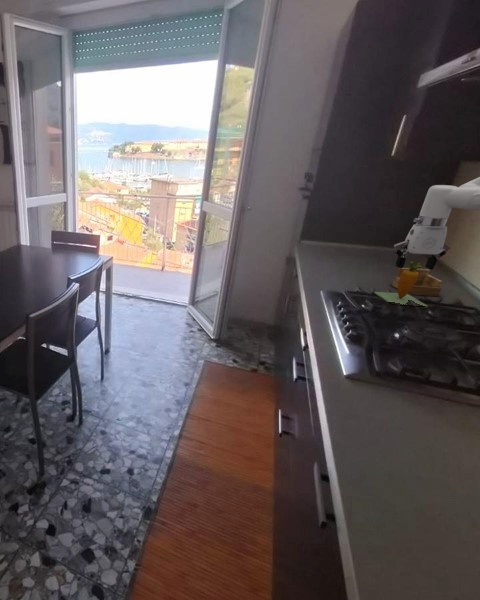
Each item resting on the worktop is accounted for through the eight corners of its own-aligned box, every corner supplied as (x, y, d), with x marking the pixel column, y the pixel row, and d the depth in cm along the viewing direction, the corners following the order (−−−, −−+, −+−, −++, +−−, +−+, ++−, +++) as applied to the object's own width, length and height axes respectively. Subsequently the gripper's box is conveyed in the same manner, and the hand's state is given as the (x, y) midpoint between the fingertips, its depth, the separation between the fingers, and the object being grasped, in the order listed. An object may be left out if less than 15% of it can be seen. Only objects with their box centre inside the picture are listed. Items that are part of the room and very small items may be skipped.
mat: (427, 307, 132) (428, 306, 131) (391, 305, 134) (391, 303, 133) (407, 295, 142) (407, 293, 142) (373, 292, 144) (374, 291, 144)
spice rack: (438, 296, 141) (446, 277, 138) (406, 294, 143) (414, 275, 140) (421, 287, 150) (428, 269, 147) (391, 285, 152) (398, 267, 149)
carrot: (406, 297, 139) (421, 260, 133) (410, 301, 135) (426, 264, 129) (390, 295, 141) (404, 258, 135) (394, 299, 137) (409, 262, 131)
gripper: (410, 223, 124) (393, 269, 131) (468, 224, 121) (448, 272, 128) (396, 219, 131) (381, 263, 137) (451, 220, 127) (433, 265, 134)
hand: (413, 267), depth 132 cm, fingers open, 9 cm apart
